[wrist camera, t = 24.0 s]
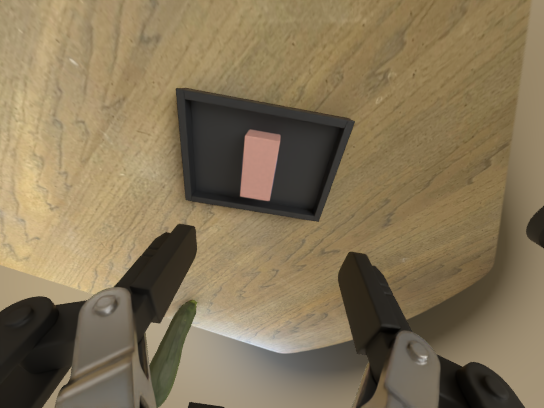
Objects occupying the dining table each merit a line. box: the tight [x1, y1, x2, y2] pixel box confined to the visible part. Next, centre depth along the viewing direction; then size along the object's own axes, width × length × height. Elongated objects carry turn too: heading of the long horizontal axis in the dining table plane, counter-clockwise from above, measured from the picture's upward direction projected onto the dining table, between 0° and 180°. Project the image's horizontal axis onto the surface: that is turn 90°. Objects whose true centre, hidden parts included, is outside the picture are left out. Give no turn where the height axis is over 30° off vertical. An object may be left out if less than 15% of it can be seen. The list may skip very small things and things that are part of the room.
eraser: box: [240, 129, 280, 201], centre depth 22 cm, size 4×7×3 cm, turn 171°
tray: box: [176, 88, 355, 222], centre depth 23 cm, size 18×13×2 cm
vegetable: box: [149, 300, 197, 408], centre depth 32 cm, size 4×4×20 cm
